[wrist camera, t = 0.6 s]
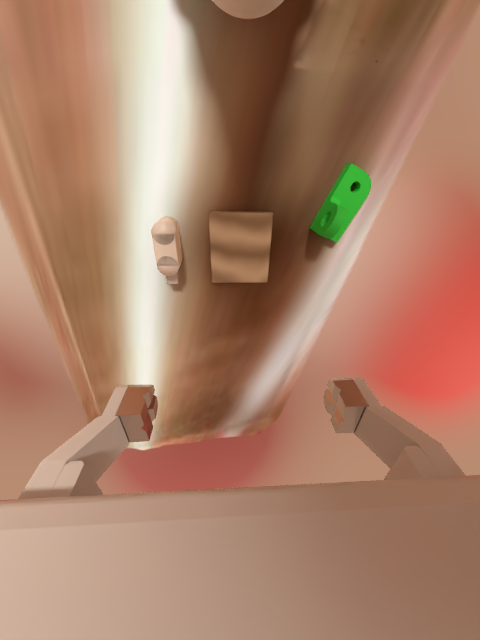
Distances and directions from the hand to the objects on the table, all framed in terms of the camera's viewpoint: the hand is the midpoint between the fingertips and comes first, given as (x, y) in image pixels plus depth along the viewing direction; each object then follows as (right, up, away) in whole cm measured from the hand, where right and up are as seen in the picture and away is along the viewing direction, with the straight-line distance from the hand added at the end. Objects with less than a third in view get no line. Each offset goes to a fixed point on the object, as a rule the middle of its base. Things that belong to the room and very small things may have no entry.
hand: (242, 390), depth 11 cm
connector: (-14, +18, +38) cm, 44 cm away
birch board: (0, +18, +39) cm, 43 cm away
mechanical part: (+19, +26, +36) cm, 48 cm away
